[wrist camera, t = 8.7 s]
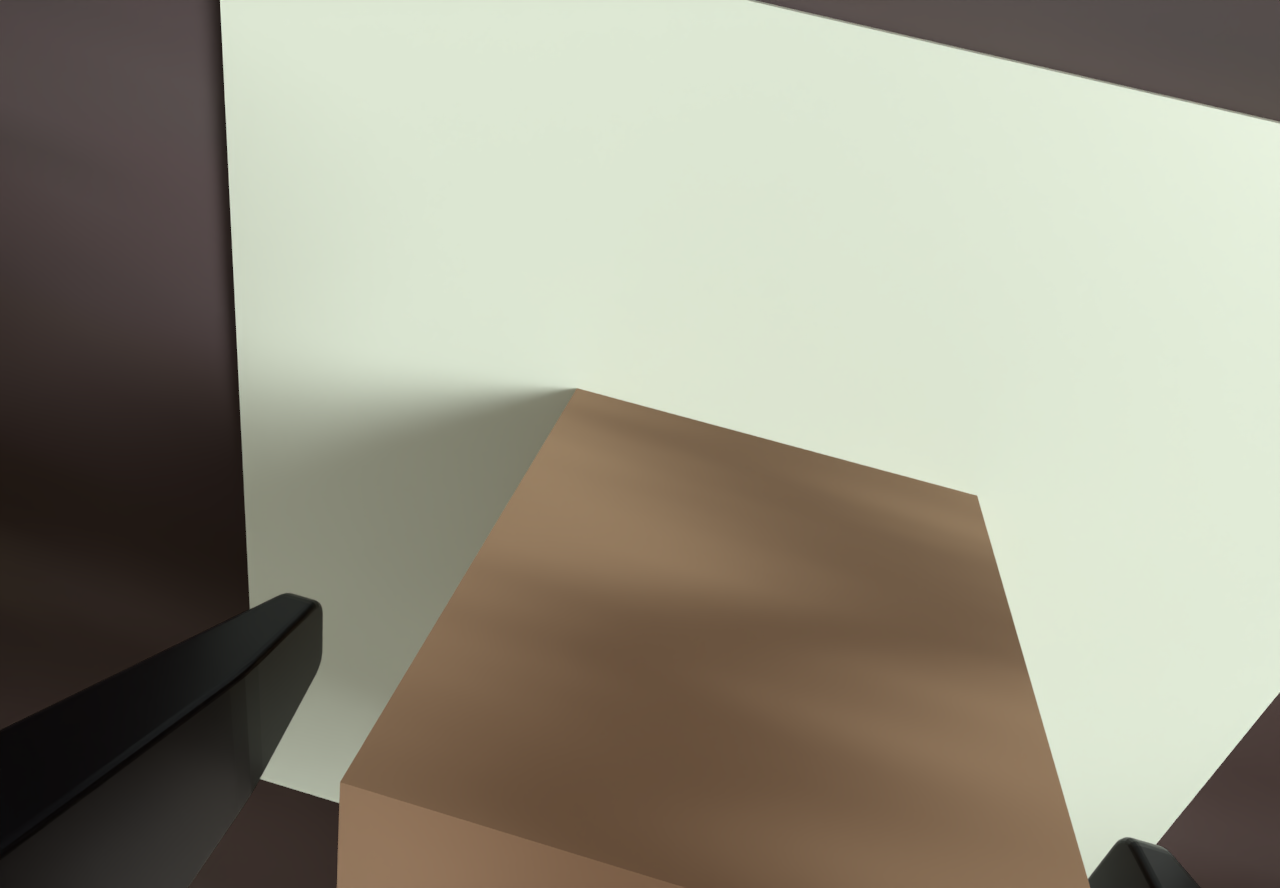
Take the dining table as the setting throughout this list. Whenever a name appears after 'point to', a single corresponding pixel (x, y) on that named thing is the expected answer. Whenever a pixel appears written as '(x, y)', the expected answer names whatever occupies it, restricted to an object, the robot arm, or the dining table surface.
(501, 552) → the walnut block
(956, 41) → the dining table surface
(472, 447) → the sage pad
